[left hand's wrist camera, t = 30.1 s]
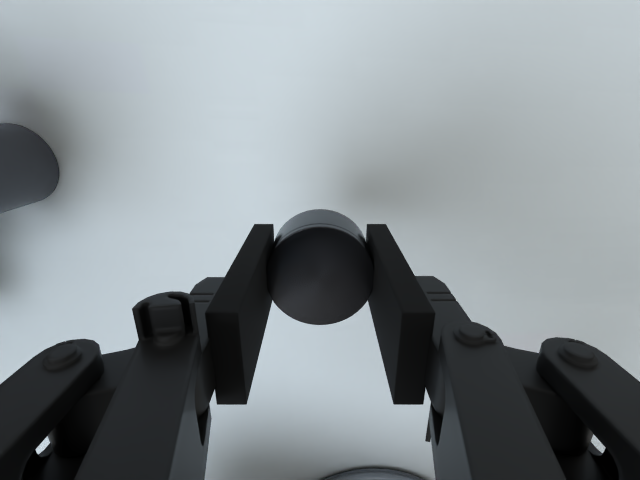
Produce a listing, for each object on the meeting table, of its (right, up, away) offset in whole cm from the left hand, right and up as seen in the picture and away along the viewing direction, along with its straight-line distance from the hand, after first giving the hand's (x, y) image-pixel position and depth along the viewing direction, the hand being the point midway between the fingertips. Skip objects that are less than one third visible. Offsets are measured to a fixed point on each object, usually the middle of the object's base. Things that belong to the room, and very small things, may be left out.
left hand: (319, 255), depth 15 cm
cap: (0, -1, -2) cm, 2 cm away
